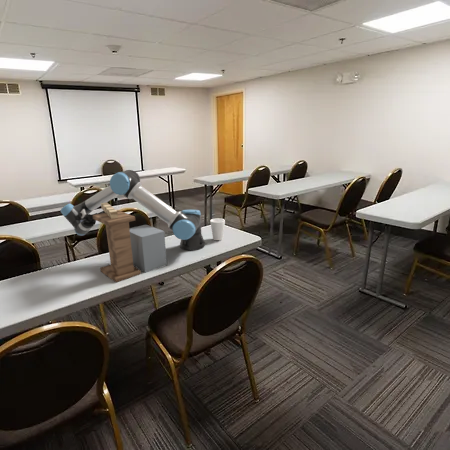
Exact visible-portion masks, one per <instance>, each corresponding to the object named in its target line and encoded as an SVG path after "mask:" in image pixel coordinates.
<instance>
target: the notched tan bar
mask: <svg viewBox="0 0 450 450" xmlns="http://www.w3.org/2000/svg"><path fill="white" fill-rule="evenodd" d="M110 205H111V204H109V203H108V202H106V203H101V206H100V207H101V209H102V211H105V213H106V214H107V215H108V216H109V217H110V218H111V219H113V218H118V213H117V210H116V209H115V208H114V207H113V206H112V205H111V206H110Z"/></svg>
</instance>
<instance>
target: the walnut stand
mask: <svg viewBox="0 0 450 450" xmlns="http://www.w3.org/2000/svg"><path fill="white" fill-rule="evenodd" d="M116 211H117V213H118V218H113V219H111V218H110V217H109V216H108V215H107V214H106V213H101V214H96V215H93V219H94V220H96V222H99V223H100V224H103V225H105V231H106V232H105V233H106V237H107V238H106V239H107V244H108V245H107V246H108V253H109V260H110V264H109V265H105V266H100V268H99V270H100V272H101V273H102V274H104V275H105V276H106V277H108V278H109V279H110V280H112V281H113V282H114V283H119V282H122V281H125V280H128V279H130V278H133V277H137V276H139V275H140V276H141V274H142V272H141V271H142V270H140V269H138V268H137V267H135V266H133V257H132V248H131V239H130V229H129V228H130V222H134V221H135V222H136V216H134V215H131V214H129V213H127V212H124V211H120V210H118V209H117V210H116Z"/></svg>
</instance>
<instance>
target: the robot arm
mask: <svg viewBox="0 0 450 450" xmlns="http://www.w3.org/2000/svg"><path fill="white" fill-rule="evenodd" d="M118 196H124V197H125V198H127V199H128V200H134V201H135V202H136V203H138V204H140V205H141V206H142V207H143V208H145V209H146V210H148V211H149V212H150V213H152V214H154V216H156V217H158V218H159V219H160V220H161V221H163V222H164V223H166V224H167V226H168V229H170V230H171V231H172V232H173V233H172V234H173V236H175V238H177V240H178V239H179V240H180V243H179V246H180V249H182V250H185V251H197V250H201V249H203V248H205V246H206V245H205V244H206V243H205V239H204V237H203V233H202V213H201V210H199V209H183V210H179V211H177V210H175V209H174V208H172V207H171V206H170V205H169V204H167V203H165V202H164V201H163V200H162V199H161V198H159V197H158V196H156V195H155V194H153V193H152V192H151V191H149V190H148V189H147V188H145V187H144V186H143V185H142V182H141V178H140V175H139V174H138V172H136V171H135V170H133V169H126V170H124V171H118V172H115V173H114V174H113V175H111V177H110V180H109V185H108V186H107V187H105V188H103V189H102V190H100V191H99V192H96V193H95V194H93V195H92V196H90V197H89V198H87V199H86V200H84V201H82V202H80V203H79V204H77V205H73V204H72V203H68V204H66V205H64V206H63V207H62V208H61V209H60V213H61V214H62V216H63V217H64V218H65V219H66V220H67V221H68V222H69V223H70V225H72V227H73V228H74V233H75V234H77V235H78V236H85V235H86V234H88V233H89V232H90V230H91V229H92V228H93V227H94V226H95V225H96V223H97V221H96V220H94V219H93V215H96V214H101V213H105V211H104V210H102V211H99V212H96V213H95V212H94V213H93V214H90V213H92V212H93V211H95V210H96V209H98V208H99V207H101V203H106V202H107V203H108V202H110V201H112V200H113V199H115V198H117V197H118ZM109 205H110V206H112V205H111V204H109Z"/></svg>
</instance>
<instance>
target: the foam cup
mask: <svg viewBox="0 0 450 450" xmlns="http://www.w3.org/2000/svg"><path fill="white" fill-rule="evenodd" d="M209 223H210V227H211V234H212V239H214V240H221V241H223V240H222V239H224V233H225V224H226V220H225V219H224V218H219V217H217V218H212V219H210V222H209ZM214 240H213V241H214Z"/></svg>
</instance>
